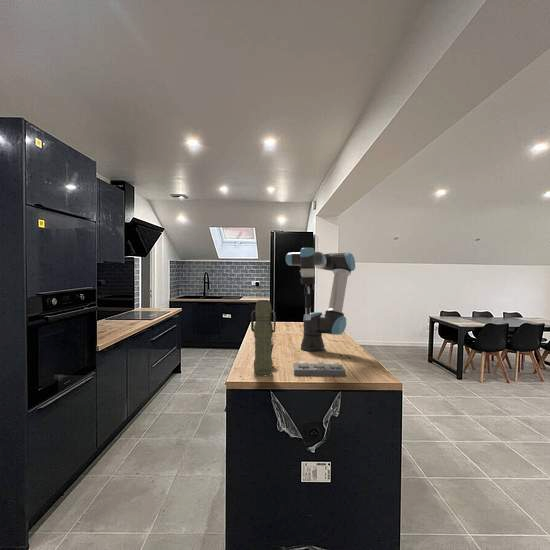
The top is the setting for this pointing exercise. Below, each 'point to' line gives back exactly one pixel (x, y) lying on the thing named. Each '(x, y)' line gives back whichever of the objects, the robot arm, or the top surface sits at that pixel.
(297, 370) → the button panel
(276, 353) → the top surface
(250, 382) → the top surface
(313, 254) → the robot arm
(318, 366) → the button three dots
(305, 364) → the button two dots
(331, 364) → the button one dot
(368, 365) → the top surface
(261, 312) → the thermos
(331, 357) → the top surface
